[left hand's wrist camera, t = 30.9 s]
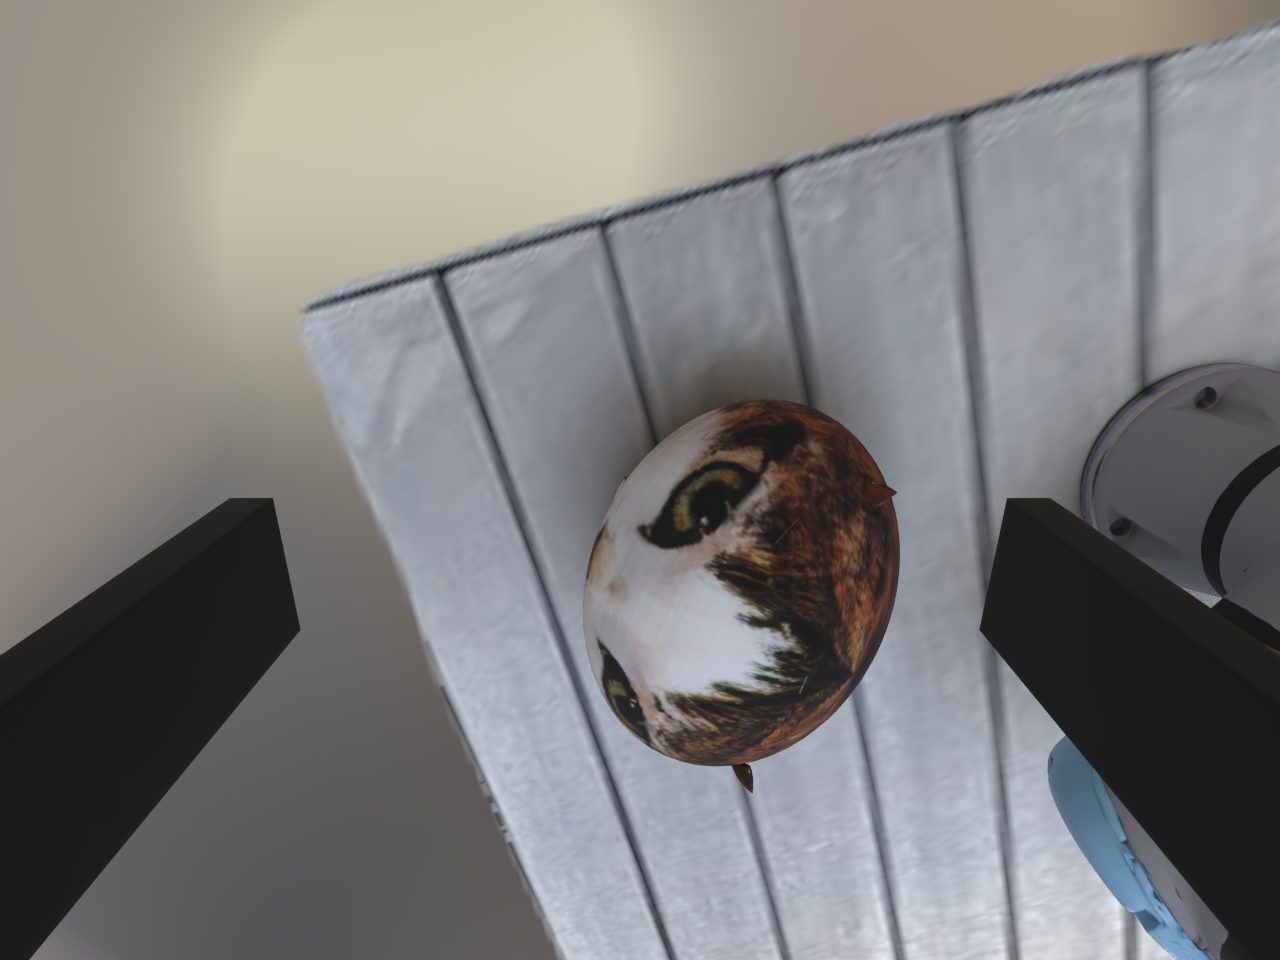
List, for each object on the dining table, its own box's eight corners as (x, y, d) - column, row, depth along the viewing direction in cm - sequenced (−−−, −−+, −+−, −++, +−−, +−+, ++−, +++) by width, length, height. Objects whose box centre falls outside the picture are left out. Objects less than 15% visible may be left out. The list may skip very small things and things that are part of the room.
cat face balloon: (563, 317, 38) (856, 475, 25) (756, 360, 50) (1020, 481, 37) (468, 644, 45) (659, 901, 32) (657, 612, 57) (851, 788, 44)
